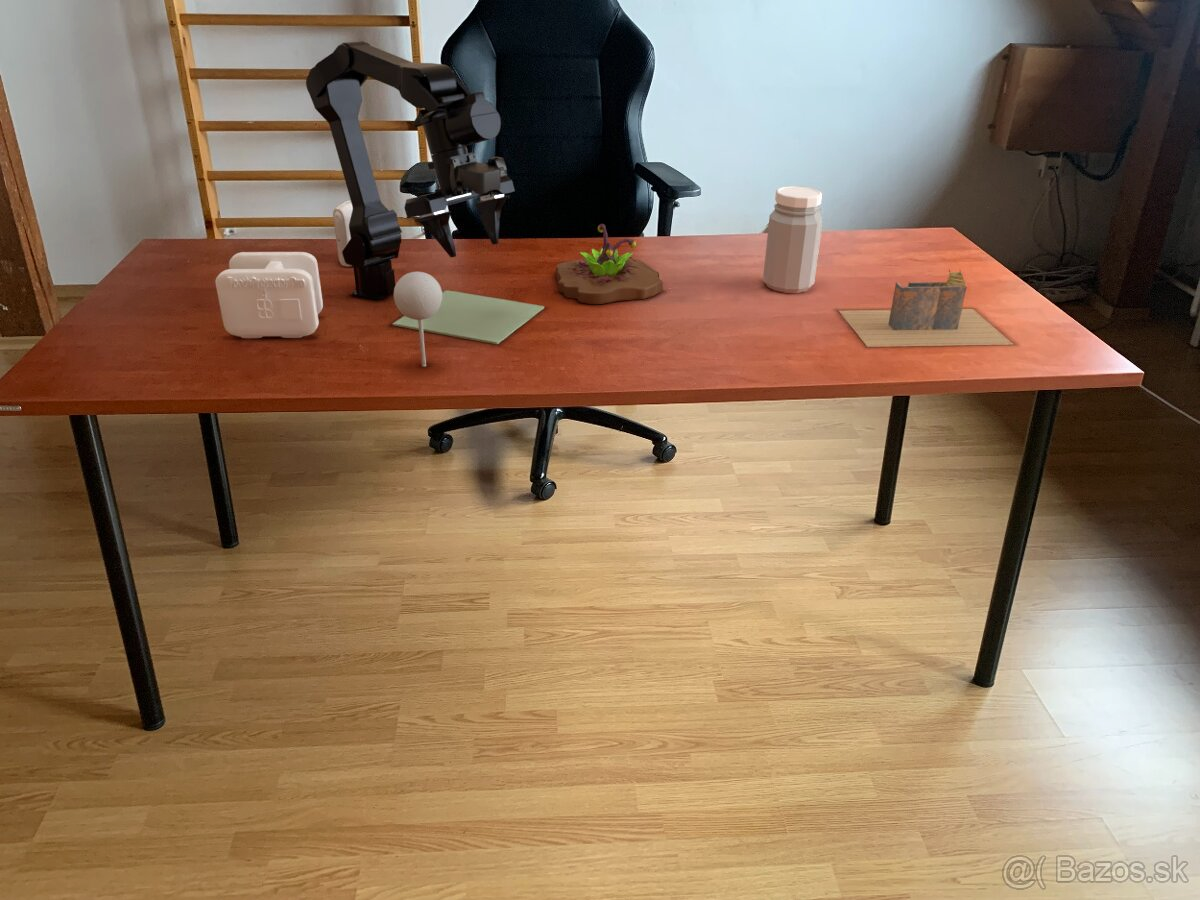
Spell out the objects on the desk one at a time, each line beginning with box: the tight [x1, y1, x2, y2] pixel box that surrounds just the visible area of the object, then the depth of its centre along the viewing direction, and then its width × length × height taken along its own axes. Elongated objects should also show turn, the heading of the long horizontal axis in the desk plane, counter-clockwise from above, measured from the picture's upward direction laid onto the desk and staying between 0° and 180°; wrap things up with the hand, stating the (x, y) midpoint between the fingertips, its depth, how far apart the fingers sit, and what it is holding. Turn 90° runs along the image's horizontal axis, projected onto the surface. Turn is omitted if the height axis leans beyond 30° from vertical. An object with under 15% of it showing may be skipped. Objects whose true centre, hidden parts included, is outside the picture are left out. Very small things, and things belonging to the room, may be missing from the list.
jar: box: [762, 185, 824, 294], centre depth 175 cm, size 10×10×18 cm
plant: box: [555, 223, 664, 305], centre depth 176 cm, size 20×20×11 cm
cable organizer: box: [214, 251, 324, 339], centre depth 155 cm, size 15×11×12 cm
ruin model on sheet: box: [838, 269, 1015, 348], centre depth 160 cm, size 25×16×10 cm, turn 94°
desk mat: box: [392, 289, 545, 345], centre depth 164 cm, size 20×18×1 cm
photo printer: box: [332, 199, 353, 268], centre depth 186 cm, size 10×4×12 cm, turn 141°
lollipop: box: [393, 271, 443, 368], centre depth 142 cm, size 7×7×15 cm
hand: (474, 250), depth 151 cm, fingers open, 9 cm apart
